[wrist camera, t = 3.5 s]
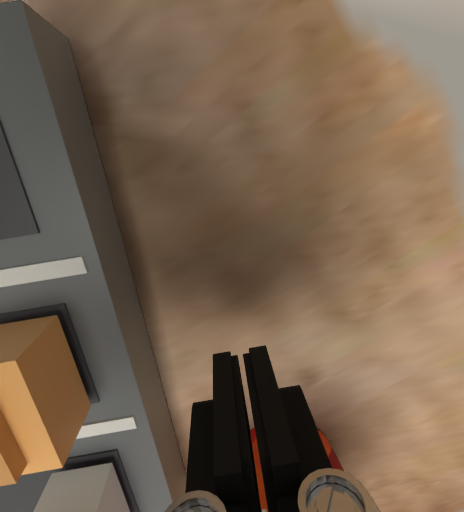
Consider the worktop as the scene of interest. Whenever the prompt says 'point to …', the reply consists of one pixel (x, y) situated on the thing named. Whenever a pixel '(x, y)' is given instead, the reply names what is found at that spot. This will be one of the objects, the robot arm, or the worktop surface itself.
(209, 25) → the worktop surface
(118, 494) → the switch
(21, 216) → the switch panel
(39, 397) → the switch
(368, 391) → the worktop surface
